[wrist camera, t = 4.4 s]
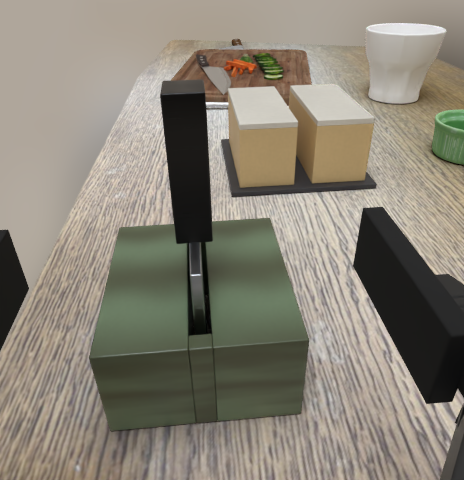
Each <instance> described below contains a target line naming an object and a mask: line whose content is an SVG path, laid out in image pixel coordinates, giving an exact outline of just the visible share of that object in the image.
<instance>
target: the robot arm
mask: <svg viewBox="0 0 464 480" xmlns="http://www.w3.org/2000/svg"><path fill="white" fill-rule="evenodd" d="M353 267H354V268H355V270H356V272H357V274H358V276H359V278H360V280H361V282H362V284H363V285H364V287H365V289H366V291H367V293H368V295H369V297H370V299H371V300H372V302H373V304H374V306H375V308H376V310H377V312H378V314H379V315H380V317H381V319H382V321H383V323H384V325H385V327H386V329H387V330H388V332H389V334H390V336H391V338H392V340H393V342H394V344H395V346H396V347H397V349H398V351H399V353H400V355H401V357H402V359H403V361H404V362H405V364H406V366H407V368H408V370H409V372H410V374H411V376H412V377H413V379H414V381H415V383H416V385H417V387H418V389H419V391H420V393H421V394H422V396H423V398H424V400H425V402H426V404H430V403H441V402H452V400H453V398H454V396H455V393H456V391H457V388H458V389H459V391H460V392H461V394H462V395H463V397H464V285H463V284H462V283H461V282H459V281H458V280H456V279H455V278H453V277H452V276H450V275H449V274H442V275H435V274H434V273H433V272H432V270H431V269H430V268H429V266H428V265H427V264H426V263H425V261H424V260H423V259H422V257H421V256H420V255H419V253H418V252H417V251H416V250H415V248H414V247H413V246H412V244H411V243H410V242H409V240H408V239H407V238H406V237H405V235H404V234H403V233H402V231H401V230H400V229H399V227H398V226H397V225H396V224H395V222H394V221H393V220H392V218H391V217H390V216H389V215H388V213H387V212H386V211H385V209H384V208H383V207H374V208H363V212H362V218H361V223H360V229H359V235H358V241H357V247H356V253H355V259H354V264H353ZM28 289H29V287H28V284H27V282H26V279H25V276H24V273H23V270H22V268H21V265H20V262H19V259H18V256H17V253H16V251H15V248H14V245H13V242H12V239H11V237H10V234H9V231H8V230H0V350H1V348H2V346H3V344H4V342H5V340H6V337H7V335H8V333H9V331H10V329H11V327H12V324H13V322H14V320H15V318H16V316H17V313H18V311H19V309H20V307H21V305H22V303H23V301H24V298H25V296H26V294H27V292H28ZM455 423H456V424H457V425H456V429H455V432H454V435H453V438H452V442H451V445H450V448H449V451H448V455H447V458H446V461H445V464H444V468H443V471H442V474H441V478H440V480H464V404H463V406H462V408H461V410H460V413H459V415H458V417H457V419H456V422H455Z"/></svg>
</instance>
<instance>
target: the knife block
mask: <svg viewBox="0 0 464 480" xmlns="http://www.w3.org/2000/svg"><path fill="white" fill-rule="evenodd" d="M212 230H213V241H212V242H201V252H202V266H203V280H204V295H207V294H208V295H209V309H210V323H211V334H203V335H194V318H193V305H192V294H191V283H190V255H189V243H185V244H177V243H176V237H175V228H174V224H168V225H152V226H136V227H121V228H119V232H118V236H117V240H116V245H115V249H114V253H113V258H112V262H111V266H110V270H109V275H108V279H107V283H106V288H105V292H104V296H103V300H102V305H101V309H100V313H99V318H98V322H97V326H96V330H95V335H94V339H93V343H92V348H91V352H90V356H89V359H90V363H91V366H92V370H93V373H94V377H95V380H96V383H97V387H98V390H99V394H100V397H101V401H102V404H103V407H104V411H105V414H106V418H107V421H108V425H109V428H110V431H117V430H128V429H138V428H149V427H160V426H170V425H181V424H192V423H196V422H197V423H203V422H213V421H217V420H218V421H226V420H237V419H247V418H258V417H269V416H279V415H290V414H300V413H301V408H302V399H303V390H304V381H305V372H306V363H307V355H308V346H309V338H308V335H307V332H306V329H305V326H304V322H303V319H302V316H301V313H300V310H299V307H298V304H297V301H296V298H295V294H294V291H293V288H292V285H291V282H290V279H289V276H288V273H287V270H286V267H285V263H284V260H283V257H282V254H281V251H280V248H279V245H278V242H277V239H276V235H275V232H274V229H273V226H272V223H271V220H270V218H261V219H245V220H229V221H213V222H212Z"/></svg>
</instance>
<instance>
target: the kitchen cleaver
mask: <svg viewBox="0 0 464 480" xmlns="http://www.w3.org/2000/svg"><path fill="white" fill-rule="evenodd" d="M232 44H233V46H230V47H225V48H220V49H244V48H243V46H242V44H241V41H240V39H234V40H232Z"/></svg>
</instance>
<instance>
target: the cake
mask: <svg viewBox="0 0 464 480" xmlns="http://www.w3.org/2000/svg"><path fill="white" fill-rule="evenodd" d="M228 116H229V139H223V140H221V143H222V149H223V154H224V159H225V164H226V169H227V174H228V179H229V184H230V189H231V195H232V197H234V196H251V195H268V194H285V193H301V192H318V191H335V190H352V189H368V188H376V185H377V184H376V183H375V182H374V180H373V179H372V178H371V177H370V176H369V174H368V173H367V172H366V169H367V163H368V157H369V151H370V145H371V139H372V133H373V127H374V120H375V118H374V117H373V116H372V115H371V114H370V113H369V112H367V111H366V110H365V109H364V108H363V107H362V106H361V105H359V104H358V103H357V102H356V101H355V100H354V99H353V98H351V97H350V96H349V95H348V94H347V93H346V92H345V91H343V90H342V89H341V88H340V87H339V86H338V85H337V84H316V85H293V86H290V96H289V107H288V106H287V104H286V103H285V102H284V100H283V99H282V97H281V96H280V94H279V93H278V91H277V90H276V88H275V87H274V86H270V87H247V88H228Z"/></svg>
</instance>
